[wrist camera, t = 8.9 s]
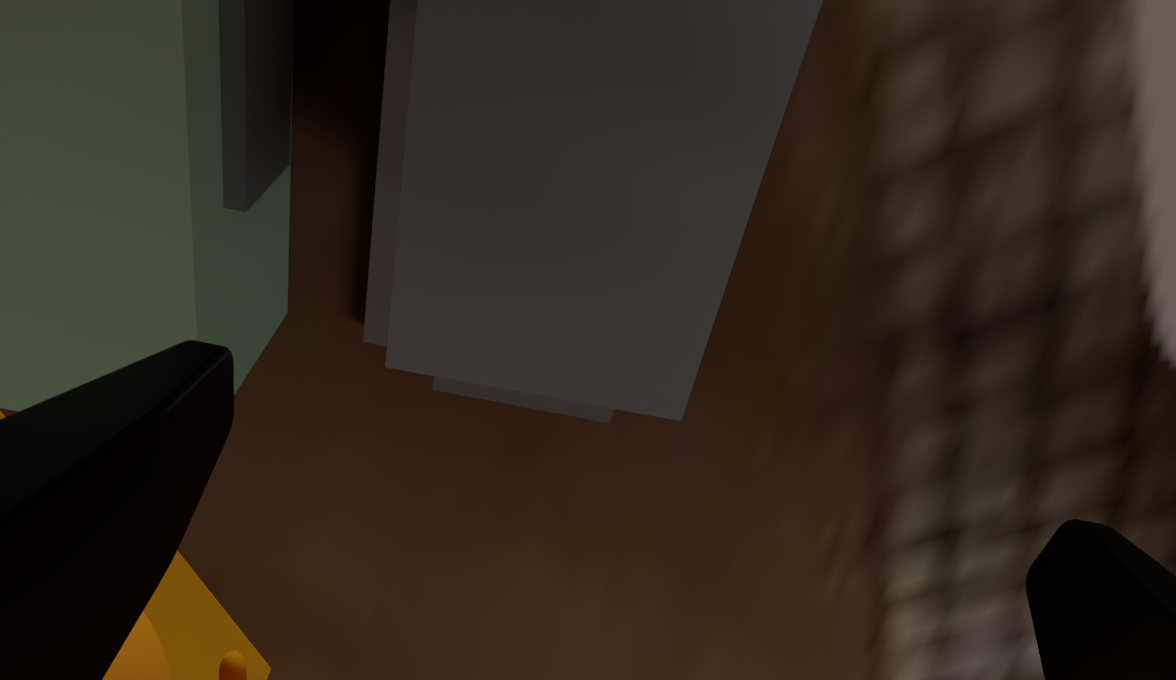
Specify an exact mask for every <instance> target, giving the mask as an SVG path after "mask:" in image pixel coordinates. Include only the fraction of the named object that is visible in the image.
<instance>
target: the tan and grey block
mask: <svg viewBox="0 0 1176 680" xmlns="http://www.w3.org/2000/svg"><path fill="white" fill-rule="evenodd" d="M820 3H821V0H418V1H417V12H416V24H415V35H414V46H413V58H412V69H411V81H410V92H409V103H408V115H407V126H406V137H405V149H404V160H403V172H402V183H401V194H400V206H399V217H398V229H397V240H396V251H395V263H394V274H393V285H392V297H391V308H390V320H389V331H388V342H387V354H386V365H385V367H387V368H392V369H398V370H403V371H409V372H414V373H420V374H425V375H431V376H436V377H442V378H447V379H453V380H458V381H464V382H469V383H475V384H480V385H486V386H491V387H497V388H502V389H508V390H513V391H518V392H524V393H529V394H535V395H540V396H546V397H551V398H557V399H562V400H568V401H573V402H579V403H584V404H590V405H595V406H601V407H606V408H612V409H617V410H623V411H628V412H634V413H639V414H645V415H650V416H656V417H661V418H667V419H672V420H678V421H681V420H682V417H683V414H684V411H685V408H686V405H687V402H688V399H689V396H690V393H691V390H692V387H693V384H694V381H695V378H696V375H697V372H698V369H699V366H700V363H701V360H702V357H703V354H704V351H705V348H706V345H707V342H708V339H709V336H710V333H711V330H712V327H713V324H714V321H715V318H716V315H717V312H718V309H719V306H720V303H721V300H722V297H723V294H724V291H725V288H726V285H727V282H728V279H729V276H730V273H731V270H732V267H733V264H734V261H735V258H736V255H737V252H738V249H739V246H740V243H741V240H742V237H743V234H744V231H745V228H746V225H747V222H748V219H749V216H750V213H751V210H752V207H753V204H754V201H755V198H756V195H757V192H758V189H759V186H760V183H761V180H762V177H763V174H764V171H765V168H766V165H767V162H768V159H769V156H770V153H771V150H772V147H773V144H774V141H775V138H776V135H777V132H778V129H779V126H780V123H781V120H782V117H783V114H784V111H785V108H786V105H787V102H788V99H789V96H790V93H791V90H792V87H793V84H794V81H795V78H796V75H797V72H798V69H799V66H800V63H801V60H802V57H803V54H804V51H805V48H806V45H807V42H808V39H809V36H810V33H811V30H812V27H813V24H814V21H815V18H816V15H817V12H818V9H819V6H820Z"/></svg>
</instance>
